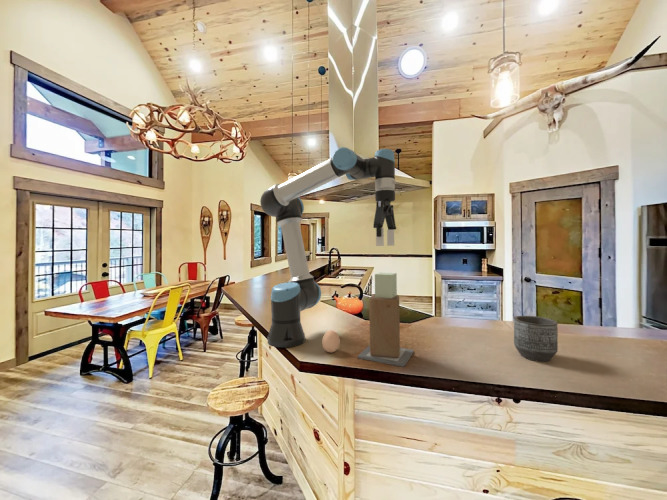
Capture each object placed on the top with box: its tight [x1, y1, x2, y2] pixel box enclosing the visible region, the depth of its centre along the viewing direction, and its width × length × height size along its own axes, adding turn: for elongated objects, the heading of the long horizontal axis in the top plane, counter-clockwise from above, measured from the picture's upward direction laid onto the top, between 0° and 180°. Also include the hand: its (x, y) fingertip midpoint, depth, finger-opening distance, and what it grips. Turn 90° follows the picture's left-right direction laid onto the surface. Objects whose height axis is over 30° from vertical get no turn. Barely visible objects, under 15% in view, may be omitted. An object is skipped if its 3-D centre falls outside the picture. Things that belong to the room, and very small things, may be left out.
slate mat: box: [357, 344, 414, 368], centre depth 100 cm, size 16×14×1 cm
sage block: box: [374, 272, 398, 298], centre depth 99 cm, size 6×6×8 cm
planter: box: [513, 315, 559, 363], centre depth 96 cm, size 12×12×13 cm
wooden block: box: [368, 293, 401, 358], centre depth 100 cm, size 10×10×20 cm
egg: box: [321, 329, 341, 353], centre depth 103 cm, size 7×7×8 cm
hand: (385, 245), depth 109 cm, fingers open, 13 cm apart
